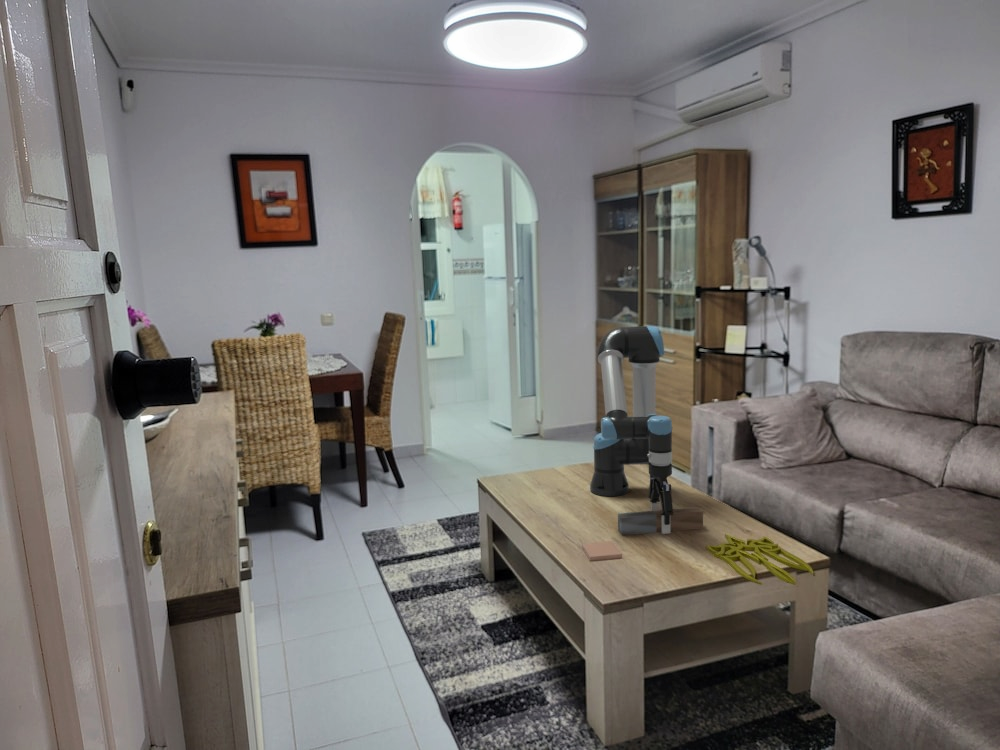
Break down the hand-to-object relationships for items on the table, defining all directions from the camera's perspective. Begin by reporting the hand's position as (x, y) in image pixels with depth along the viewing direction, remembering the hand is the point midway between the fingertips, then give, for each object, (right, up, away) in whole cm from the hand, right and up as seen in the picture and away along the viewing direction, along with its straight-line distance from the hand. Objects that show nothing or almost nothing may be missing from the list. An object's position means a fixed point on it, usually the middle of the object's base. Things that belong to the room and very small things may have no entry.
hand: (660, 527), depth 227 cm
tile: (-17, -4, -15) cm, 23 cm away
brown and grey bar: (0, -1, 0) cm, 1 cm away
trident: (+23, -5, -25) cm, 34 cm away
